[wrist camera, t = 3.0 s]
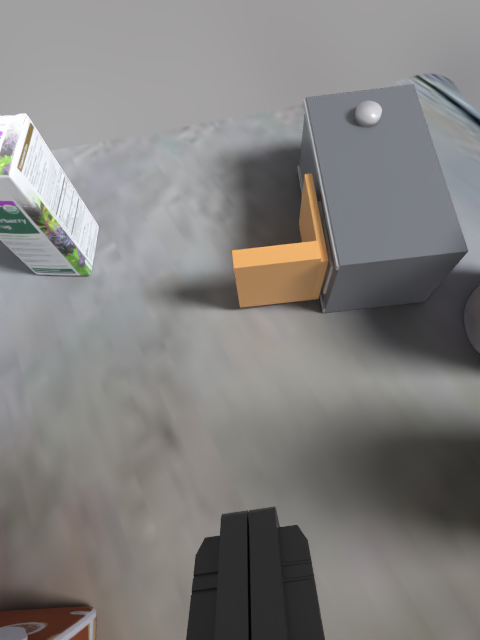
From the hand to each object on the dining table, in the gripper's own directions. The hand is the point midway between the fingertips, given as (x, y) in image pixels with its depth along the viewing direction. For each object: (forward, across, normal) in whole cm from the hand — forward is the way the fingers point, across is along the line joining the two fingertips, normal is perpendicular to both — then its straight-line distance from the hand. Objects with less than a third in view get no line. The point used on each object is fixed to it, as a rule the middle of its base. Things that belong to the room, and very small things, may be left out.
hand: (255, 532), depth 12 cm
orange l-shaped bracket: (+30, +3, 0) cm, 30 cm away
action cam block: (+33, +11, +1) cm, 35 cm away
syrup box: (+34, -17, +4) cm, 38 cm away
